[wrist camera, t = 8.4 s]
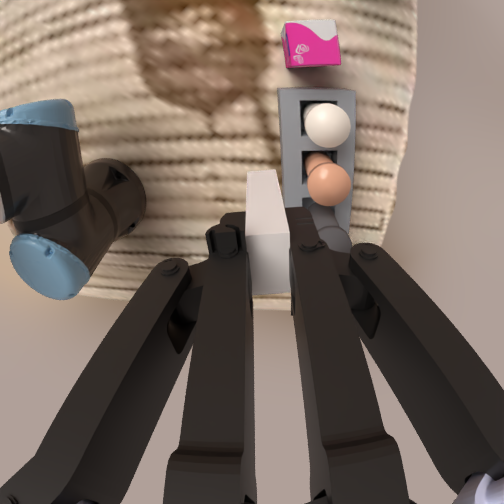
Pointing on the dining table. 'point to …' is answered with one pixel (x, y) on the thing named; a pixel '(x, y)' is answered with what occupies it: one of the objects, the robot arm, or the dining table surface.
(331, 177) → the terracotta plug
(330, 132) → the cream plug
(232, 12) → the dining table surface
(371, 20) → the dining table surface
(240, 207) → the dining table surface
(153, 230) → the dining table surface
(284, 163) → the socket block
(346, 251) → the black plug
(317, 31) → the supplement box
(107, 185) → the robot arm
